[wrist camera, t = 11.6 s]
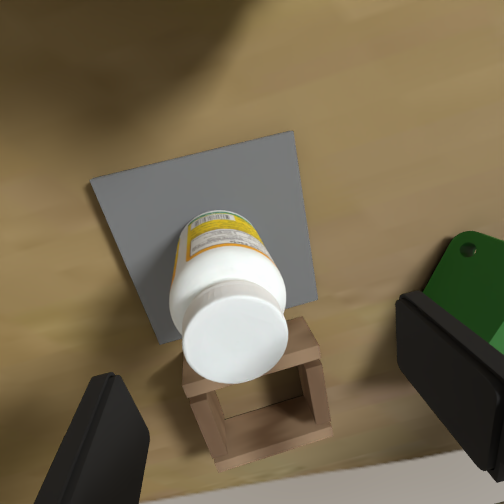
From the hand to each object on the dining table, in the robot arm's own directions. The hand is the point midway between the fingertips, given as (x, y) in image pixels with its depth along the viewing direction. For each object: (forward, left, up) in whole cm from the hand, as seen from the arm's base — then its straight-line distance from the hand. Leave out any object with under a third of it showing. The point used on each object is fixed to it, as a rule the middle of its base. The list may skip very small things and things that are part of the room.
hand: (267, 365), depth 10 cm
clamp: (-17, +10, -12) cm, 23 cm away
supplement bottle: (+1, 0, -11) cm, 11 cm away
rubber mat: (+1, 0, -12) cm, 12 cm away
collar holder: (+1, +12, -12) cm, 17 cm away
